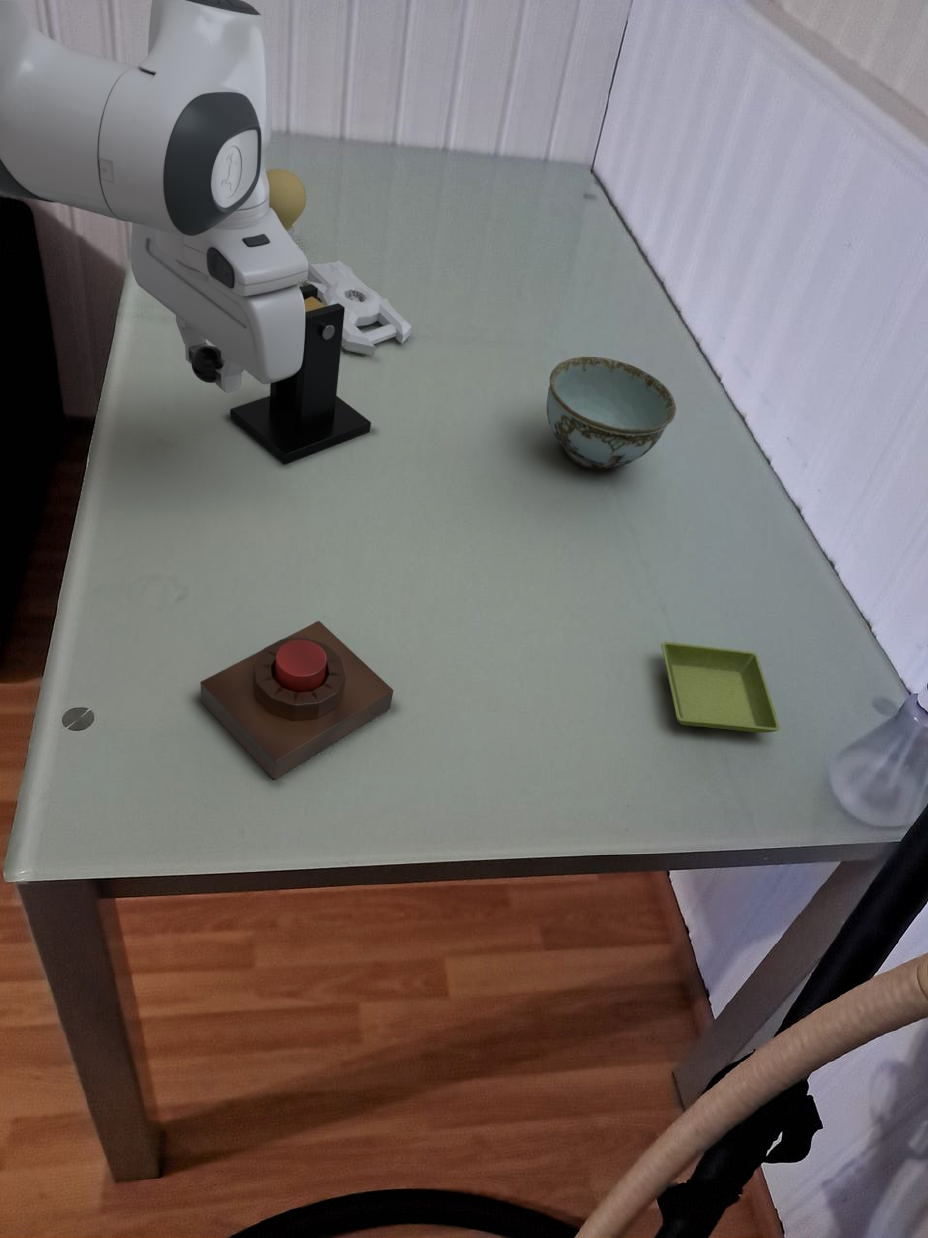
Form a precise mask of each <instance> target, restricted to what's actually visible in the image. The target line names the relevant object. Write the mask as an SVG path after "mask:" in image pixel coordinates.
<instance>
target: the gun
mask: <svg viewBox="0 0 928 1238" xmlns="http://www.w3.org/2000/svg"><path fill="white" fill-rule="evenodd" d="M306 280H307V285H309V284H312V285H314V286H315V287H317V288H318V295H317V298H318V299H320V302H321V303H322V304H323V305H325V306H329V305H333V304H336V303H339V304H341V305H342V306H344V307H345V313H344V323H343V333H342V343H341V347H343V348H344V350H346V351H348V352H351V353H356V354H362V355H367V356H374V355H375V352H376V351H375V350H376V346H375V344H378V343H381V342H383V341H387V340H389V339H392V338H395V339H396V340H397V341H398V342H399V343H400V344H403V343H404V342H405V341H406V340H407V339H408V338H409V337H410V335H411V332H412V325H411V324H410V323H409V322H408V321H407V320H406V319H405V318H404V317H402V315H401V314H400V313H398V312H397V310H395V309H394V307H392V305H391V303H390V302H389V300H388V298H387V297H385V298H383V297H382V296H381V295H380V294H379V293H378V292H376V291H375V290H374V289H372V288H370V287H368V286H367V285H366V284H365V283H364V282H363V281H362V280H361V279H360V278H359V277H357V275H355V273H354V270H353V269H352V268H351V267H350V266H349V265H347V264H344V262H343V261H341V260H340V259H338V260H336V261H333V262H325V263H308V276H307V279H306ZM375 322H378V323H380V324H381V325H382V326H380V327H377V328H375V329H371V330H369V331H365V332H362V331H361V329H359V328H358V327H362V326H363V327H366V326H369V325H372V324H374V323H375Z"/></svg>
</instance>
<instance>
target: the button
mask: <svg viewBox="0 0 928 1238" xmlns="http://www.w3.org/2000/svg"><path fill="white" fill-rule="evenodd" d="M325 669H326V654H325V652H324V651H323V649H322V648H321V647H320V646H319V645H317V644H315V643H313V642H311V641H307V640H293V641H290V642H287V643H285V644H284V645H282V646H281V647H280V648H279V650H278V651H277V654H276V664H275V676H276V679H277V680H278V682H279V683H280V684H281V685H282V686H283V687H285V688H287V689H289V690H292V691H296V692H305V691H310V690H313V689H315V688H316V687H318V686H319V685H320V684H321V683H322V681H323V680H324V677H325Z"/></svg>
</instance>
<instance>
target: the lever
mask: <svg viewBox="0 0 928 1238" xmlns="http://www.w3.org/2000/svg"><path fill="white" fill-rule="evenodd" d="M304 304H305V312H307V311H311V310H315V309H318V308H322V307H326V306H325V305H323V304H322V301H320V300H318V299H317V300H316V299H315V298H314V297H310V298H308V299H305V300H304ZM224 363H225V360H223V359H222V358H221V351H220V350H219V349H218V348H217V347H215V346H214V345H209V346H203V347H201V348H199V349H198V350H197V351H196V352H195V353H194V355H193V357H192V361H191V363H190V365H191V368H192V372H193V374H194V375H195V376H196V377H197V379H198V380H200V381H202V382H203V383H207V384H216V383H215V379H216V377H215V369H216V368H219V367H223V365H224Z"/></svg>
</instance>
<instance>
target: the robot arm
mask: <svg viewBox="0 0 928 1238" xmlns="http://www.w3.org/2000/svg"><path fill="white" fill-rule="evenodd" d="M149 15H150V16H149V24H148V25H149V26H148V41H147V42H148V45H147V56H146V57H145V58H144V59H143V60H142V61H141V62H140V63H139V64H138V65H137V66H136V65H133V64H131V63H126V62H125V63H124V62H122V61H120V60H119V61H118V60H115V59H111V58H107V57H103V56H100V55H97V54H92V53H89V52H86V51H82V50H79V49H75V48H72V47H69V46H67V45H65V44H63V43H61V42H59V41H57V40H54V38H51V37H49V36H47V35H46V34H44V33H42V32H41V31H40V30H38V29H37V28H36V27H34V26H33V25H32V24H31V23H30V22H29V21H28V20H27V18H26V17H25V14H24V10H23V7H22V4H21V0H0V192H2V193H4V194H6V195H10V196H16V197H21V198H25V199H31V200H37V201H41V202H47V203H55V204H61V205H65V206H67V207H68V206H69V207H72V208H75V209H79V210H82V211H85V212H90V213H93V214H97V215H99V216H104V217H107V218H111V219H114V220H118V221H122V222H129V223H131V233H130V234H131V235H130V236H131V237H130V266H131V270H132V274H133V277H134V280H135V282H136V284H137V285H138V286H139V287H140V288H141V289H143V290H144V291H145V292H146V293H147V294H148V295H150V296H151V297H152V298H154V299H155V300H156V301H158V302H159V304H161V305H162V306H164V307H165V308H167V310H169V311H170V312H172V313H173V314H174V315H175V323H176V326H177V328H178V332H179V333H180V337H181V339H182V342H183V344H184V349H185V350H184V351H185V353H184V354H185V360H186V361H187V362H188V363H189V364H191V361H192V357H193V355H194V353H195V352H196V351H197V350H198V349H199V348H201V347H203V346H210V345H209V344H208V343H207V341H208V342H209V343H210V344H211V345H212V346H214V347H217V348H218V349H219V350H220V351H221V358H222V359H223V360H225V363H224V365H223V367H219V368H216V369H215V377H216V379H215V383H214V384H215V385H216V386H217V387H219V389H220V390H222V391H223V392H224V393H227V394H230V393H233V392H236V391H239V390H240V389H241V387H242V378H243V377H242V373H243V372H244V371H245V372H246V373H248V375H250V376H251V377H253V378H254V379H255V380H256V381H258V382H259V383H261V384H263V385H270V383H273V382H277V381H280V380H283V379H286V378H289V377H291V376H293V375H294V374H295V373H296V372H297V371H298V370H299V369H300V367H301V365H302V360H303V352H304V339H305V304H304V299H303V295H302V293H301V290H300V288H299V287H300V286H299V285H298V284H301V283H303V282H305V281H307V280H308V279H307V276H308V264H309V261H308V258H307V256H306V254H305V253H304V252H303V251H302V250H301V248H300V247H299V246H298V244H297V243H296V241H294V238H293V239H292V238H291V237H290V235H289V234H288V233H287V231H286V230H285V228H284V227H283V225H282V224H281V222H280V220H279V219H278V217H277V215H276V213H275V212H274V210H273V209H272V208H270V207H269V196H270V189H269V182H268V178H267V174H266V171H267V168H266V158H267V152H268V149H269V145H270V143H271V140H272V125H273V123H272V122H273V91H272V89H273V87H272V70H271V69H272V68H271V56H270V55H271V54H270V47H269V46H270V45H269V38H268V32H267V27H266V22H265V19H264V16H263V15H262V14H261V13H260V12H259V11H258V10H256V8H255V7H254V5H252V4H250V3H248V2H247V1H244V0H151V5H150V14H149Z"/></svg>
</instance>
